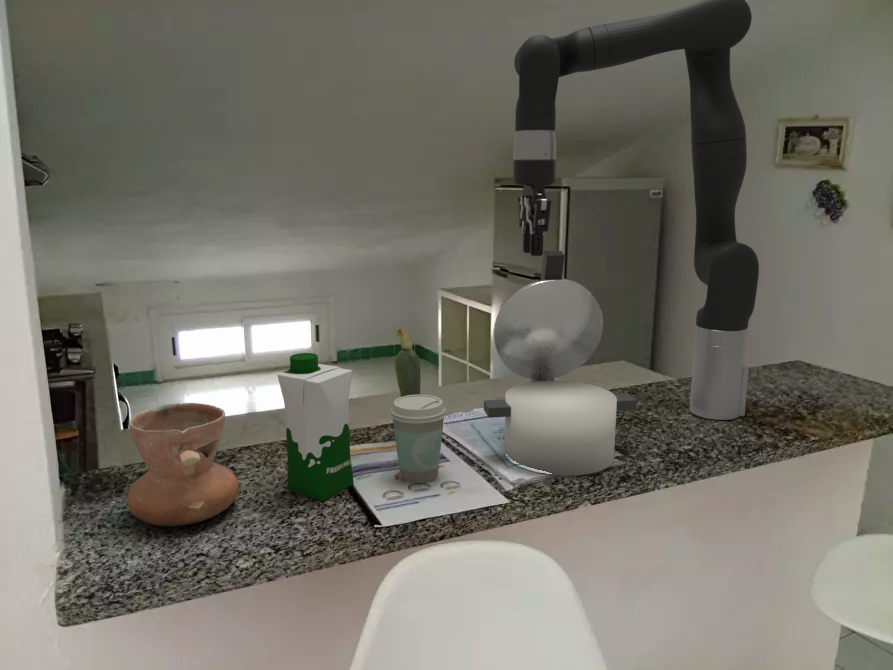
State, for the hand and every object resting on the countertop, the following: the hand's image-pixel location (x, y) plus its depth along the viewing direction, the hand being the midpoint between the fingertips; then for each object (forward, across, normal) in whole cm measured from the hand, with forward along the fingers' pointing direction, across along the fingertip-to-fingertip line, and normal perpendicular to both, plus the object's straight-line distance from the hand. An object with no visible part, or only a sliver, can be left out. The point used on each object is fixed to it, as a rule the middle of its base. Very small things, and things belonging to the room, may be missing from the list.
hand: (532, 253), depth 131 cm
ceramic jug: (+32, -30, +58) cm, 72 cm away
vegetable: (+32, -8, +24) cm, 40 cm away
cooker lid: (+11, -12, 0) cm, 17 cm away
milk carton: (+32, -26, +39) cm, 56 cm away
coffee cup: (+32, -24, +24) cm, 46 cm away
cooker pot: (+31, -19, 0) cm, 37 cm away
